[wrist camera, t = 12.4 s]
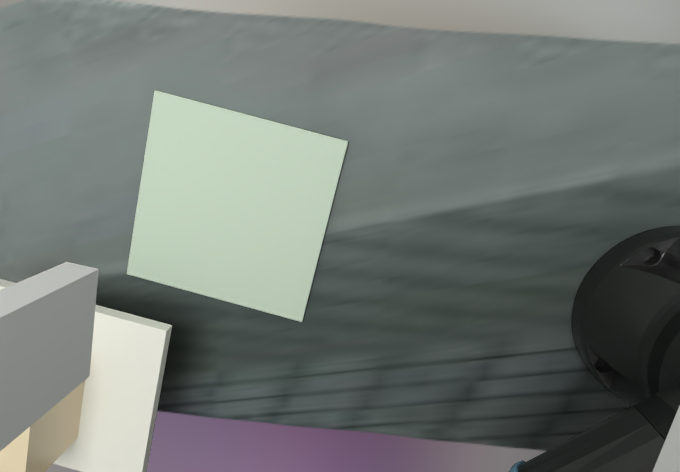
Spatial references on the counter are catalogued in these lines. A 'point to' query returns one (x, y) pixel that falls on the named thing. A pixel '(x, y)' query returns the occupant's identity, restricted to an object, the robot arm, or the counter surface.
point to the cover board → (102, 403)
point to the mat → (233, 205)
